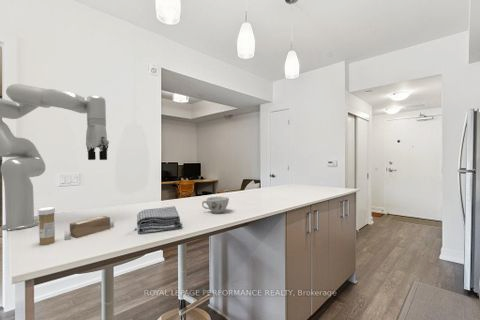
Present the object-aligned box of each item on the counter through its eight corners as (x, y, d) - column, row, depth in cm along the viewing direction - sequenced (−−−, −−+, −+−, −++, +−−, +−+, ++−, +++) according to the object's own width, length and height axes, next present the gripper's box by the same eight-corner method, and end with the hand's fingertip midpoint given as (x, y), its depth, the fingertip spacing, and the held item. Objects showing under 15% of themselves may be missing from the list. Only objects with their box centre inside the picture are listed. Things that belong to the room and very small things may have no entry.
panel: (49, 237, 93) (49, 228, 93) (101, 224, 110) (101, 216, 110) (69, 245, 85) (69, 234, 85) (121, 229, 102) (121, 221, 102)
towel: (137, 225, 109) (136, 208, 109) (177, 221, 116) (177, 205, 116) (137, 235, 95) (136, 216, 95) (183, 229, 102) (182, 211, 102)
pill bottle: (37, 245, 85) (36, 208, 84) (53, 242, 88) (52, 206, 88) (40, 248, 82) (39, 210, 81) (57, 244, 85) (56, 207, 85)
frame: (69, 236, 92) (69, 223, 92) (103, 227, 103) (103, 215, 103) (76, 238, 89) (76, 224, 89) (110, 229, 100) (109, 217, 100)
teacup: (226, 209, 140) (226, 195, 140) (231, 214, 128) (230, 199, 128) (201, 210, 136) (201, 196, 136) (203, 215, 124) (202, 200, 124)
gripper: (78, 123, 111) (79, 160, 112) (98, 120, 103) (99, 160, 103) (94, 125, 118) (95, 159, 118) (115, 122, 109) (116, 159, 109)
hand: (97, 159), depth 111 cm, fingers open, 9 cm apart
